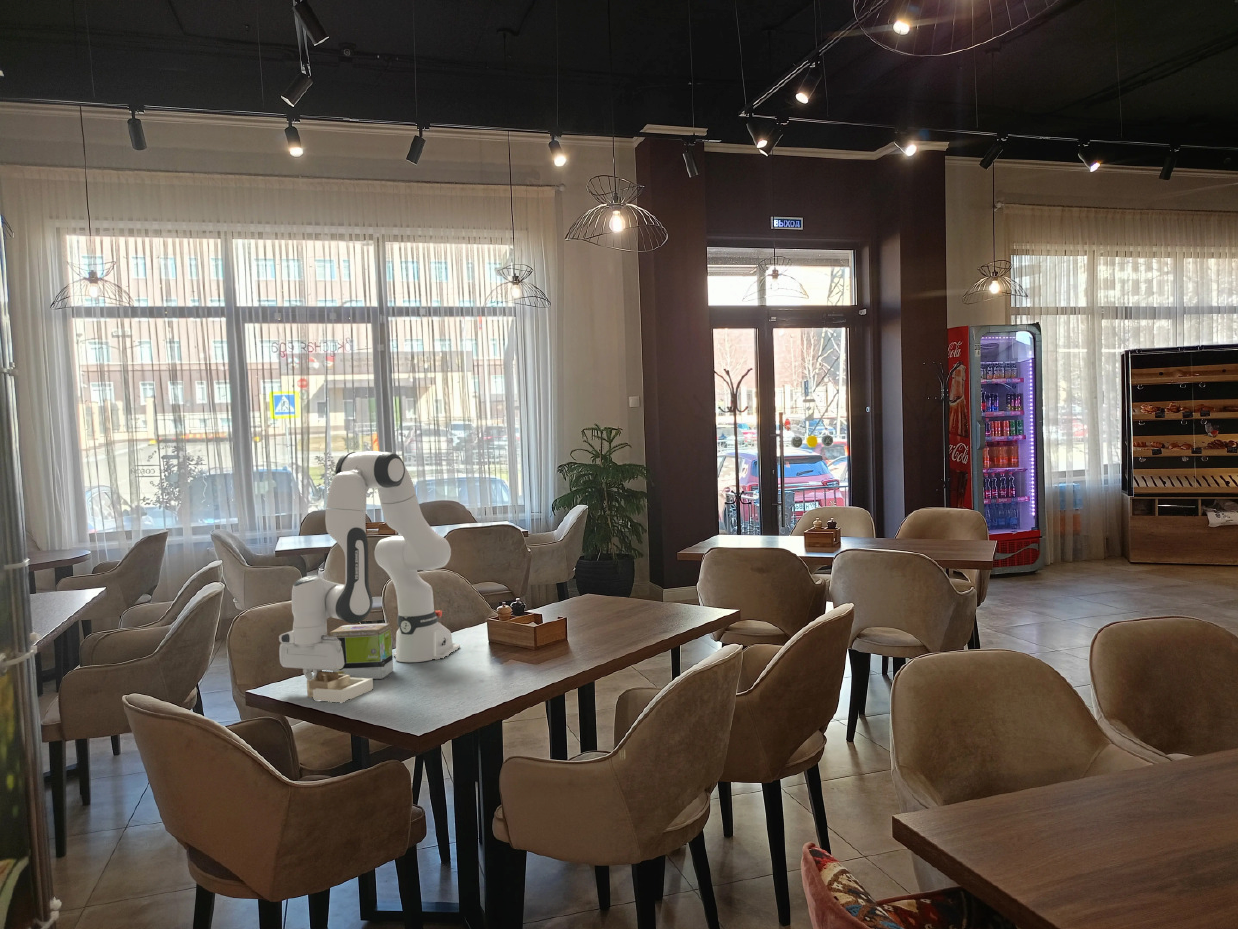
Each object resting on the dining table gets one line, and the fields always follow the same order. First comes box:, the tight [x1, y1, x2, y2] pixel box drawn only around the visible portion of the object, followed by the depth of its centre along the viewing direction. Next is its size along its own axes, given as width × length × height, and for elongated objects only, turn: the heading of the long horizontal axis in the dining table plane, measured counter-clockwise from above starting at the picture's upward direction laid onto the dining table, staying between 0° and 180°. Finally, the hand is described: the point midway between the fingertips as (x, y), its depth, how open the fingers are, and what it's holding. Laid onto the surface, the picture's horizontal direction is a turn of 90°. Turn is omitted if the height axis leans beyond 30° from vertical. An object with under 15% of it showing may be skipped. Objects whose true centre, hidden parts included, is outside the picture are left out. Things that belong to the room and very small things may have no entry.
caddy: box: [306, 670, 350, 698], centre depth 239 cm, size 8×8×6 cm
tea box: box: [329, 622, 394, 680], centre depth 257 cm, size 15×10×15 cm, turn 84°
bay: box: [312, 677, 374, 704], centre depth 237 cm, size 13×10×3 cm
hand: (313, 684), depth 241 cm, fingers closed
